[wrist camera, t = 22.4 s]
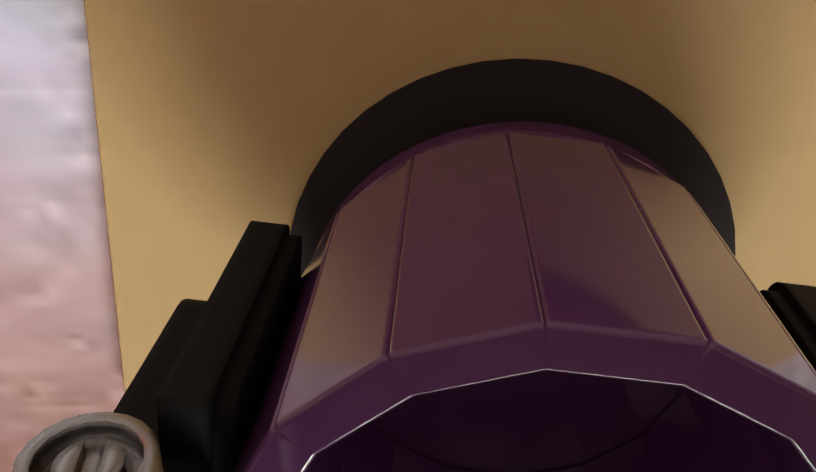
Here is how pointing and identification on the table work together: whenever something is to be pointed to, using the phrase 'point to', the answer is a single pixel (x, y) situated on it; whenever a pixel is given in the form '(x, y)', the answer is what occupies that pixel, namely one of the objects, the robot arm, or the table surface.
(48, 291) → the table surface
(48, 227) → the table surface
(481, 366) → the plum dish
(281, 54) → the placemat
